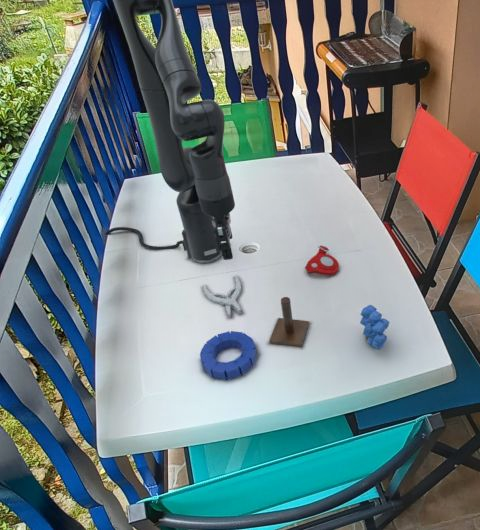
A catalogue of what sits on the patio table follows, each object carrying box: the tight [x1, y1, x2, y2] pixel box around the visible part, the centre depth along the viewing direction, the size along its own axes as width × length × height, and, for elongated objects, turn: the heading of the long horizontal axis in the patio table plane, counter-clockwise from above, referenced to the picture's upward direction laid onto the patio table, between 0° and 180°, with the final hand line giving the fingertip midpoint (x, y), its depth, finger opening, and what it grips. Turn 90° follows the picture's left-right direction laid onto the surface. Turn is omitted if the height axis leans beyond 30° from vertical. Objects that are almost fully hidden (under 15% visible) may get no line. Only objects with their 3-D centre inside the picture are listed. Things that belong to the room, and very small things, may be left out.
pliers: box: [202, 275, 243, 319], centre depth 133 cm, size 10×2×15 cm
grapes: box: [359, 304, 390, 350], centre depth 119 cm, size 12×7×12 cm, turn 23°
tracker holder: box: [304, 244, 340, 276], centre depth 144 cm, size 12×4×10 cm
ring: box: [199, 330, 258, 381], centre depth 117 cm, size 12×12×3 cm
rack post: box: [268, 296, 310, 347], centre depth 121 cm, size 8×8×12 cm
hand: (228, 248), depth 121 cm, fingers open, 8 cm apart
